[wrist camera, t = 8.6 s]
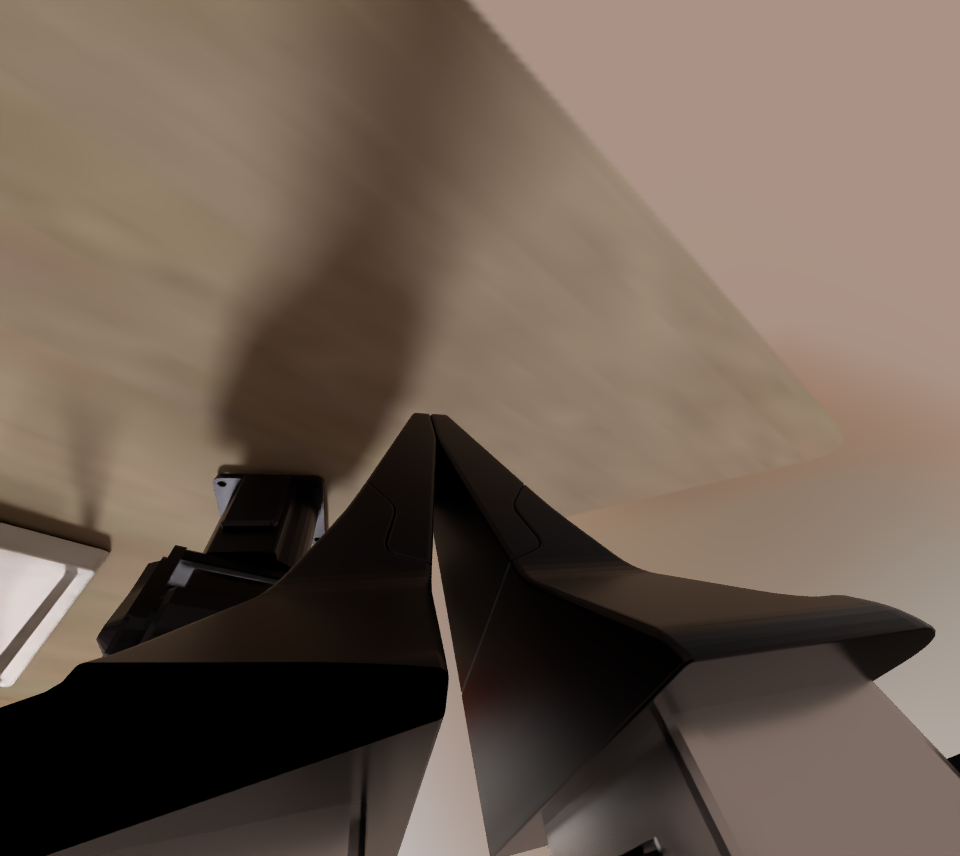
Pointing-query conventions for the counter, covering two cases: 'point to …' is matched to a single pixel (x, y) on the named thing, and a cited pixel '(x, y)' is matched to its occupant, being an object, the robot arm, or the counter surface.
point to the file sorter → (37, 591)
